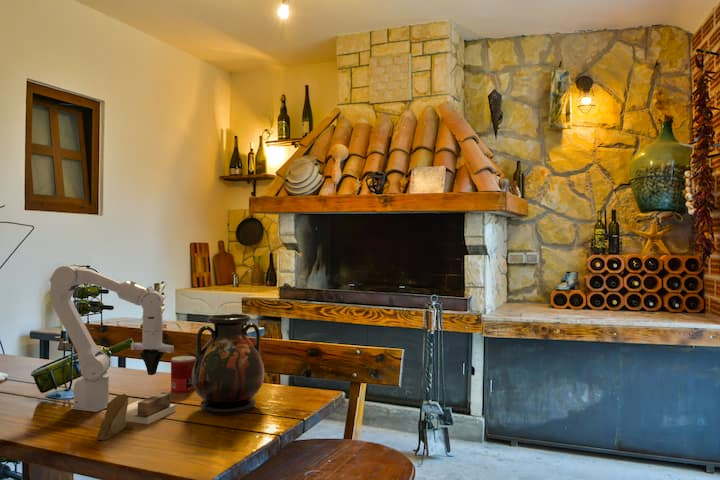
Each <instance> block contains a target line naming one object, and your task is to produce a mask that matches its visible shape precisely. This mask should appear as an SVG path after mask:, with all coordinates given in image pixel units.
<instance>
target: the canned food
mask: <svg viewBox="0 0 720 480" xmlns="http://www.w3.org/2000/svg"><path fill="white" fill-rule="evenodd" d="M195 361H196V356H192V355H191V356H190V355H178V356H174V357H171V360H170V391H171V392H172V393H173V394H187V393H192V392H194V391H195V390H194V388H193V385H192V370H193V365H194V363H195Z"/></svg>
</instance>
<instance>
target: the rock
mask: <svg viewBox="0 0 720 480" xmlns="http://www.w3.org/2000/svg"><path fill="white" fill-rule="evenodd" d="M128 405H129V397H128V395H127V394H125V393H122V394H118V395H116V396H115V397H114V398H112V399H111V400H110V401H109V403H108V404H107V408H106V412H105V414H104V418H103V419H102V421H101V423H100V427H99V431H98V432H97V436H96V438H95V440H97V441H99V440H100V441H106V440H107V439H109V438H111V437H113V436H114V435H117V434H118V433H120V432H121V431H123V430H124V429H125V428H126V423H127V421H126V411H127V407H128Z"/></svg>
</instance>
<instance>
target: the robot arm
mask: <svg viewBox="0 0 720 480" xmlns="http://www.w3.org/2000/svg"><path fill="white" fill-rule="evenodd" d="M49 283H50V293H49V301H50V304H51V306H52V308H53V310H54V312H55V313H56V315H57V317H58V318H59V320H60V322H61V324H62V326H63V328H64V330H65V332H66V334H67V335H68V337H69V339H70V341H71V343H72V344H73V346H74V348H75V351H76V352H77V362H78V363H79V365H80V366H79V367H80V375H81V377H79V378H78V379H77V380H76V381H75V383H74V384H73V406H71V410H78V411H86V412H92V413H96V412H100V411H103V410H105V409H107V404H108V403H109V402H110V401H109V399H110V398H109V395H110V394H109V393H110V392H109V391H110V390H109V387H110V384H109V383H110V380H109V379H110V374H108V370H109V369H110V367H111V358H110V357H109V356H108V355H107V354H106V353H104V351H102V349H101V347H99V346H98V345H97V344H96V343H95V341H94V339H93V337H92V335H91V334H90V331H89V330H88V328H87V326H86V324H85V323H84V321H83V319H82V317H81V315H80V313H79V311H78V310H77V307H76V306H75V304H74V302H73V301H72V297H73V295H74V293H75V290H76V289H77V288H78V286H80V285H87V284H91V285H94V286H97V287H98V288H103V289H105V290H109V291H111V292H114V293H116V295H117V296H118V297H117V298H119V299H120V300H124V301H125V302H128V303H131V304H134V305H136V306H141V307H142V311H143V312H142V332H141V333H142V336H141V337H142V340H141V341H142V342H132V343H130V350H131V351H134V350H136V351H138V350H139V351H142V352H140V354H139V355H140V358H141V359H142V360H143V362H144V365H145V368H146V372H147V376H154V375H156V374H157V370H158V367H159V363H160V361H161V359H162V357H163V356H164V353H167V354H171V353H174V351H175V346H174V345H173V344H172V345H171V344H166V343H164V342H163V307H162V306H163V304H164V302H165V299H164V295H163V294H162V293H161V292H159V291H158V290H155V289H154V290H151V289H152V288H150V287H147V288H146V287H144V286H141V285H139V284H137V281H135V280H129V281H128V280H126V281H123V282H121V281H118V280H115V279H113V278H111V277H109V276H107V275H104V274H102V273H99V272H97V271H95V270H92V269H89V268H87V267H83V266H82V267H81V266H79V265H76V264H71V265H67V266H66V265H64V266H63V265H62V266H59V267H58V268H56V269H55V270H54V271H53V273H52V275H51V277H50V279H49Z"/></svg>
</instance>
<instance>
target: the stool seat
mask: <svg viewBox="0 0 720 480" xmlns="http://www.w3.org/2000/svg"><path fill="white" fill-rule="evenodd" d="M140 401H142V400H140V399H139V400H137V401H134V402H132V403H128V407H127V411H126V422H130V423H138V424H146V425H149V424H151V423H153V422H155V421H158V420H160V419H162V418H164V417H166V416H168V415H171V414H173V413H176V404H173V403H171V405H169V406H167V407H165V408H163V409H161V410H159V411H157V412H155V413H153V414H151V415H148V416H140V415H138V402H140Z"/></svg>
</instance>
